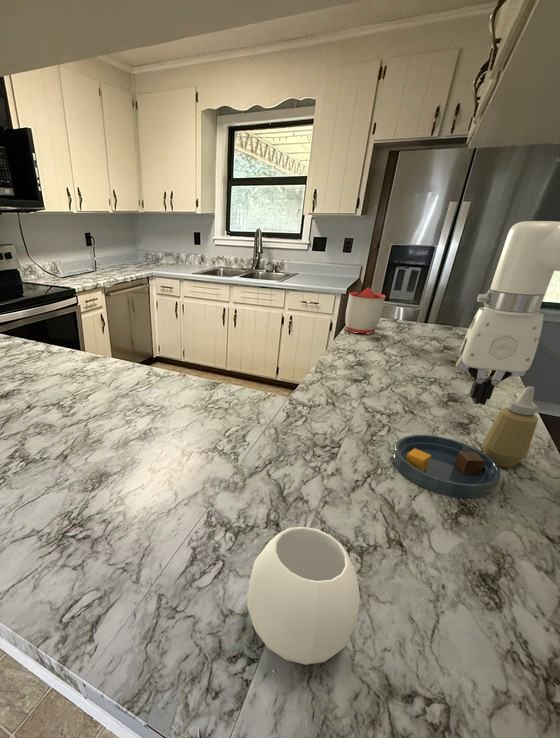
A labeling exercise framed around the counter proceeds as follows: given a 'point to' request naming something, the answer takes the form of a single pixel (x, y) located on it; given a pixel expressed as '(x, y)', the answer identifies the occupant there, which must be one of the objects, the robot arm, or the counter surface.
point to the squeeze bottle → (512, 431)
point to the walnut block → (469, 463)
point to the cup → (304, 595)
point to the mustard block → (418, 459)
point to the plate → (445, 467)
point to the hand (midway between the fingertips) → (477, 401)
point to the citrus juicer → (364, 311)
